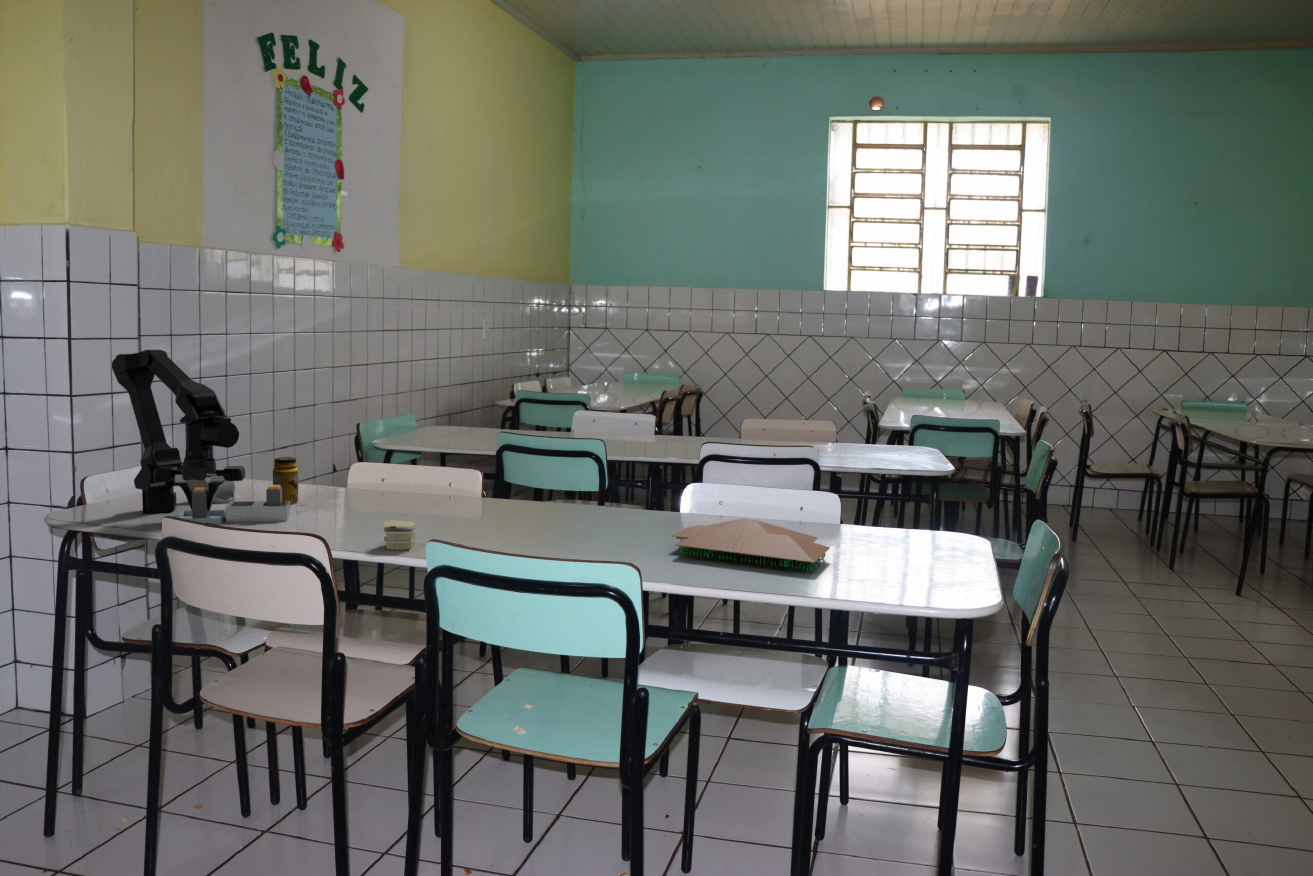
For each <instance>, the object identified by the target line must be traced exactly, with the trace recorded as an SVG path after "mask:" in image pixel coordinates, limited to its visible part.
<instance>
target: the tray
mask: <svg viewBox="0 0 1313 876" xmlns="http://www.w3.org/2000/svg"><path fill="white" fill-rule="evenodd" d="M176 516H177V517H183V518H184V519H188V520H192V521H198V522H205V523H213V524H212V525H218V524H220V525H221V524H222V523H223V522H224V521H225V520H226V509H210V518H192V510H191V509H183V510H181V511H180V512H179V513H178V514H177V515H176Z"/></svg>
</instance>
